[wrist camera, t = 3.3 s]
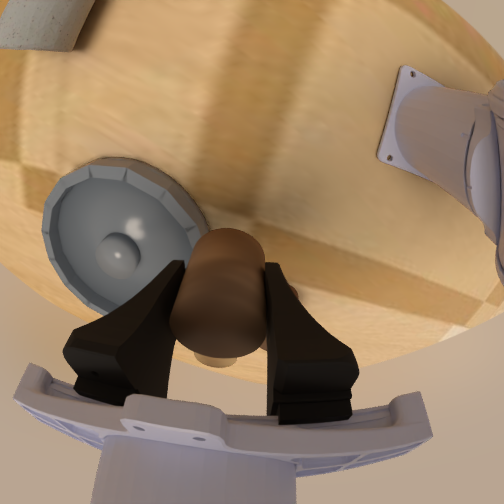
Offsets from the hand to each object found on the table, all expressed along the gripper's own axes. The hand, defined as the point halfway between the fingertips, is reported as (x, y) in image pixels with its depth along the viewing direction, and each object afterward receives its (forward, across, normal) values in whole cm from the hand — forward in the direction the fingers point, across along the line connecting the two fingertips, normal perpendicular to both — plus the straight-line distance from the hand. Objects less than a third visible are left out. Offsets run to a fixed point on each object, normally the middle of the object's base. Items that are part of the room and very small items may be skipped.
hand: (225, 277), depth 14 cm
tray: (+9, +11, +4) cm, 14 cm away
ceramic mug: (+9, +14, -19) cm, 26 cm away
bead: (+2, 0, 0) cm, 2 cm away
